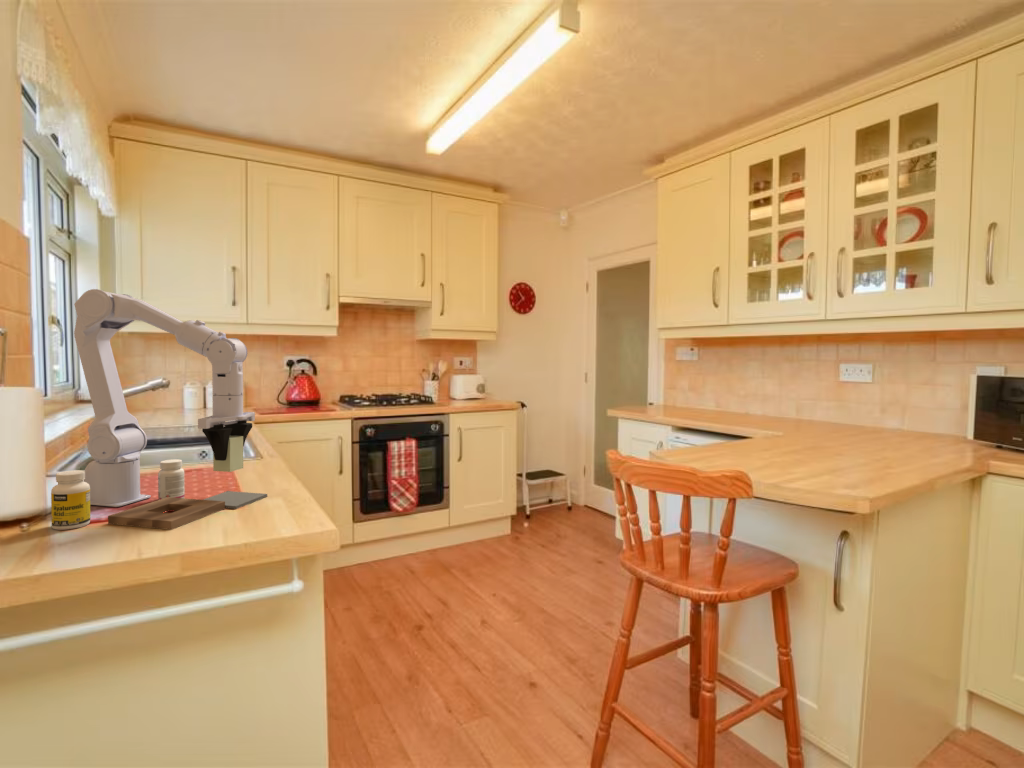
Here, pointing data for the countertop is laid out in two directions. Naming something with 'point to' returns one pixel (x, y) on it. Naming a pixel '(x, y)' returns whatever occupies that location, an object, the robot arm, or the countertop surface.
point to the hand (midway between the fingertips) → (228, 458)
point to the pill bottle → (171, 479)
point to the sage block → (231, 456)
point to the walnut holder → (155, 517)
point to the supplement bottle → (70, 501)
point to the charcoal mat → (237, 498)
